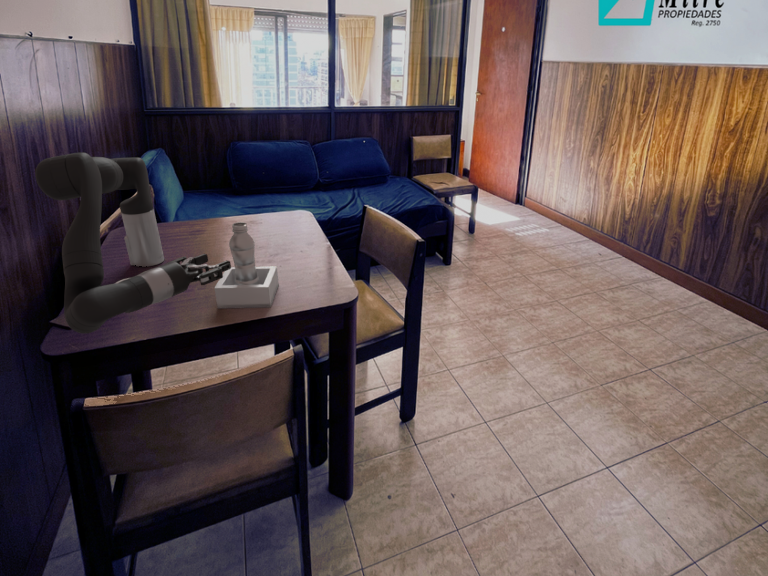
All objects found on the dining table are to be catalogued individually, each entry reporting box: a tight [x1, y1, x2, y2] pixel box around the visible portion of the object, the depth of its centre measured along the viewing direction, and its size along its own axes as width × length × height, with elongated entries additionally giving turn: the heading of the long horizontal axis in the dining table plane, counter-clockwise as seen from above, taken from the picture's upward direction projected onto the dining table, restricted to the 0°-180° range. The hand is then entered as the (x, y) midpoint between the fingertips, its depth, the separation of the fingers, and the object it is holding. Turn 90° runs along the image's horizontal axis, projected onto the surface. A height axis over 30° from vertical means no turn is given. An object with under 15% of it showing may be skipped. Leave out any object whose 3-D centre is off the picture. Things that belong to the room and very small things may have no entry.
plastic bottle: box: [228, 221, 260, 285], centre depth 130 cm, size 6×7×20 cm
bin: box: [213, 265, 280, 309], centre depth 133 cm, size 14×14×6 cm
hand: (218, 260), depth 122 cm, fingers open, 8 cm apart
